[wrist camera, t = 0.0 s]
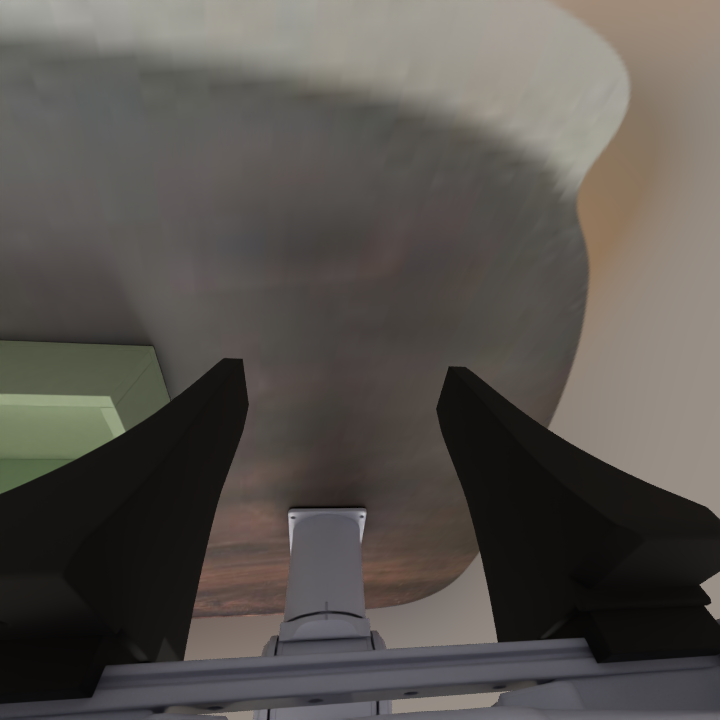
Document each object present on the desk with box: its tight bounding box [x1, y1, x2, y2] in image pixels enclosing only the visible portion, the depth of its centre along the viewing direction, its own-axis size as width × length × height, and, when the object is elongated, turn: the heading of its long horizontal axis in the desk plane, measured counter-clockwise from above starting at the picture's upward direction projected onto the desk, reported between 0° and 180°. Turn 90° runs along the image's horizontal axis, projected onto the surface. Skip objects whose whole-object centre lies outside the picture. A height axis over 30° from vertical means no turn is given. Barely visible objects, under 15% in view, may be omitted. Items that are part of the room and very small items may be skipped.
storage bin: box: [0, 340, 170, 494], centre depth 22 cm, size 12×18×5 cm, turn 85°
